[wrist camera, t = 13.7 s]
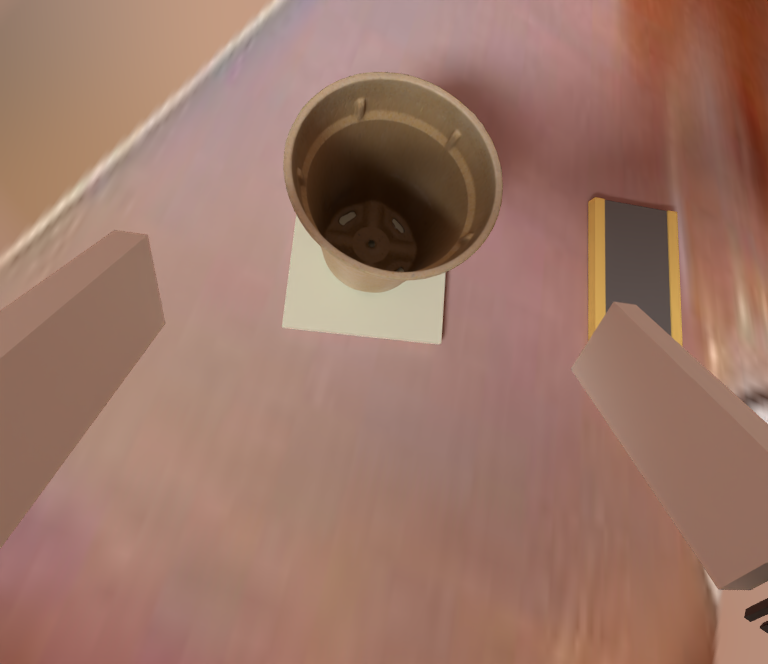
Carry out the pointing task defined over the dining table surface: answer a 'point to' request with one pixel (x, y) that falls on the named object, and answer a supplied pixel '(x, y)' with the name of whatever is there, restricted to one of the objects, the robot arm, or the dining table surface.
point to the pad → (358, 299)
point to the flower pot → (392, 179)
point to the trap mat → (633, 263)
